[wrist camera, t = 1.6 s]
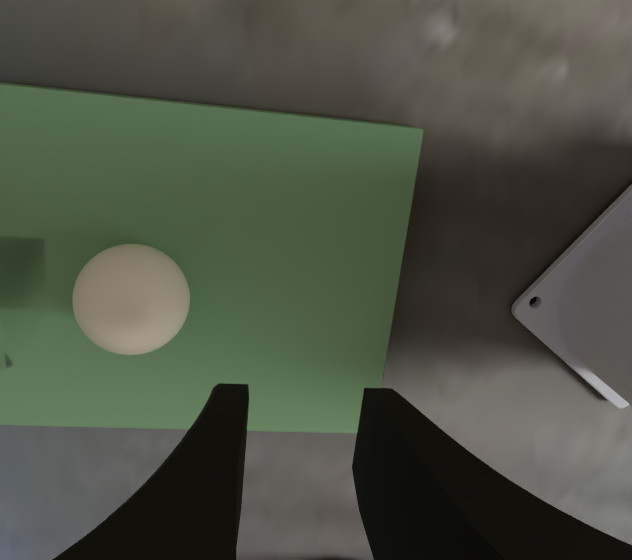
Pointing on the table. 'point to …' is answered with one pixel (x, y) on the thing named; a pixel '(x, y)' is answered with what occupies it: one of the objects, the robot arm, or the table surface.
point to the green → (200, 256)
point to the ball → (131, 299)
